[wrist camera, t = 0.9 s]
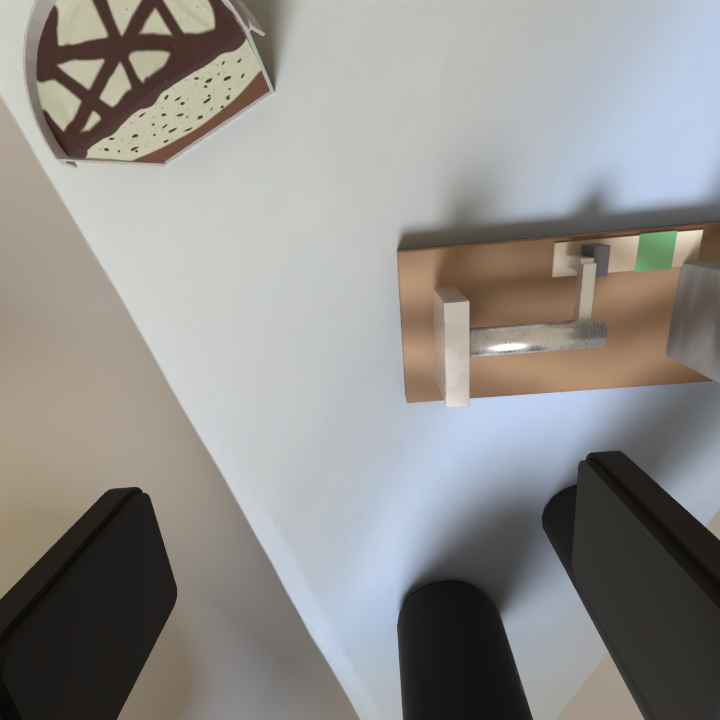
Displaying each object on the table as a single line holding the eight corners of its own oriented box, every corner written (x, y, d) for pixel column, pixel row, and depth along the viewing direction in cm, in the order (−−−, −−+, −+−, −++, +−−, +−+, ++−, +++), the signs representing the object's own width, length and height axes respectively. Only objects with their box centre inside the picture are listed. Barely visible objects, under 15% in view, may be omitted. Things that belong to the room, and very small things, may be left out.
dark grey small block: (582, 244, 29) (595, 247, 27) (596, 243, 29) (610, 245, 27) (579, 273, 30) (592, 277, 28) (593, 272, 30) (607, 276, 28)
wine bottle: (616, 472, 38) (1317, 1243, 10) (629, 534, 40) (1222, 1294, 12) (533, 496, 39) (950, 1248, 11) (551, 555, 41) (929, 1294, 13)
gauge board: (396, 250, 31) (407, 269, 23) (730, 220, 30) (880, 227, 21) (405, 395, 36) (416, 459, 27) (698, 373, 34) (812, 433, 25)
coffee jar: (456, 661, 47) (504, 915, 30) (377, 623, 45) (381, 871, 29) (518, 603, 44) (610, 853, 27) (435, 560, 42) (478, 799, 25)
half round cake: (241, -23, 26) (168, -150, 17) (293, 79, 28) (254, 17, 18) (90, 89, 28) (-49, 33, 19) (148, 176, 30) (47, 165, 21)
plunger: (431, 267, 30) (443, 280, 25) (586, 253, 29) (630, 263, 24) (434, 376, 33) (446, 407, 28) (575, 365, 32) (613, 395, 27)
